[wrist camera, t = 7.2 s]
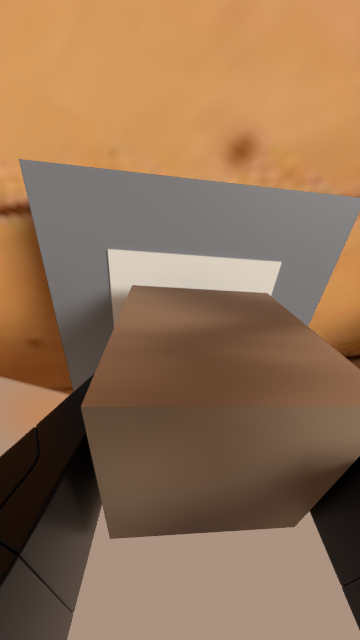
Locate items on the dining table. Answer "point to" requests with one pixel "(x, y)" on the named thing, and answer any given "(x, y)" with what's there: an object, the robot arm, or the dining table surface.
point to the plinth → (173, 244)
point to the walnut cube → (216, 414)
